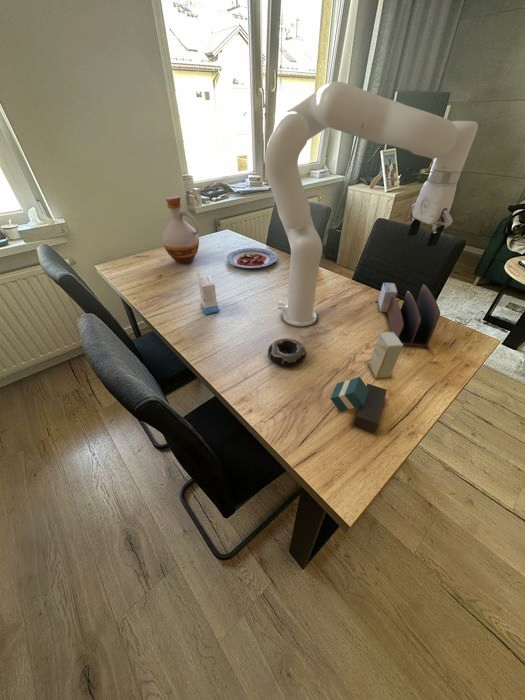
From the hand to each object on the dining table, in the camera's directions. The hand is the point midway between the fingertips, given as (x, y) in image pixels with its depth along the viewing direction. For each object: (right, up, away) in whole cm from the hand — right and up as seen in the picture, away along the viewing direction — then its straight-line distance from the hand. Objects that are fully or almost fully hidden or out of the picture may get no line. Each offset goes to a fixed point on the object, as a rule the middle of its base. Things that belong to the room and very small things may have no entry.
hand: (421, 240), depth 90 cm
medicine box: (-2, -18, +23) cm, 29 cm away
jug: (-90, +12, +60) cm, 109 cm away
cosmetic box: (-15, -41, -5) cm, 44 cm away
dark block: (-23, -51, -17) cm, 58 cm away
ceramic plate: (-55, +11, +59) cm, 81 cm away
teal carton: (-28, -49, -15) cm, 58 cm away
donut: (-42, -37, 0) cm, 56 cm away
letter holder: (0, -27, +11) cm, 30 cm away
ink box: (-71, -18, +23) cm, 77 cm away
